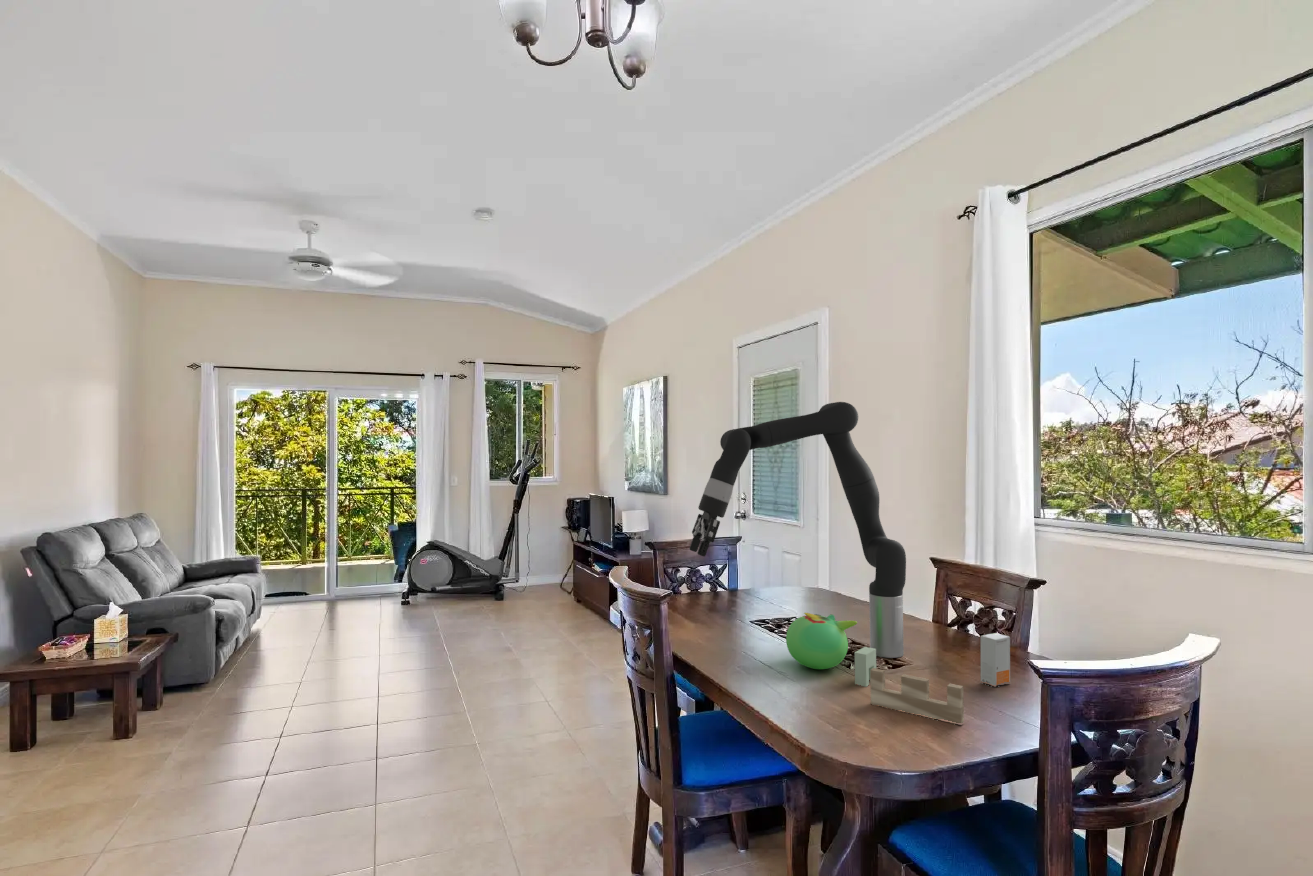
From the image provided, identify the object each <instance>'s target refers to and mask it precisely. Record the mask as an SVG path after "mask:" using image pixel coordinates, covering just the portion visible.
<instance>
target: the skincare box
mask: <svg viewBox="0 0 1313 876" xmlns="http://www.w3.org/2000/svg"><path fill="white" fill-rule="evenodd" d="M981 681H982V682H987V683H989V684H992V685H998V684H1001V683H1004V682H1010V683H1011V637H1010V636H1009V635H1005V634H1000V633H997V632H995V633H987V634H983V635H980V682H981Z"/></svg>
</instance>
